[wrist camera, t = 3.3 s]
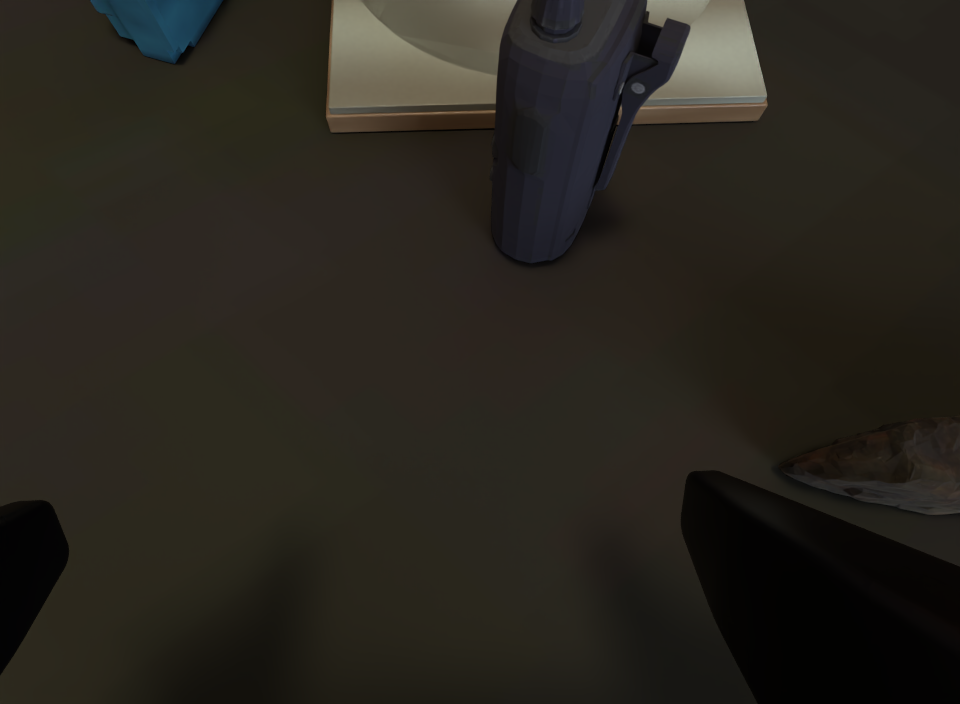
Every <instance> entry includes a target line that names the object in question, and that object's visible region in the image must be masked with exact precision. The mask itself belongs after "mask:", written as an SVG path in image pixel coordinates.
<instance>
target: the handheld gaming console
mask: <svg viewBox="0 0 960 704" xmlns="http://www.w3.org/2000/svg"><path fill="white" fill-rule="evenodd" d="M90 1H91V3H92V4H93V6H94V7H95V9H96V10H97V12H99V13H103V14H106V15H107V17H108V18H109V20H110V21H111V23H112V24H113V26H114V28H115V29H116V31H117V32H118V34H119V35H120V36H121V37H125V38H129V39H132V40H134V41H135V43H136V44H137V46H138V47H139V49H140V51H141V52H142V54H143V55H144V56H147V57H150V58H154V59H158V60H162V61H165V62H169V63H173V64H175V63H176V61H177V60H178V58H179V57H180V55H181V53H183V52H184V50H185V49H186V47H187V45H188V46H192V47H195V45H196V44H197V42H198V40H199V39H200V37H201V36H202V34H203V32H204V31H205V29H206V27H207V26H208V24H209V22H210V21H211V19H212V18H213V16H214V14H215V13H216V11H217V9H218V8H219V6H220V4H221V3H222V1H223V0H90Z"/></svg>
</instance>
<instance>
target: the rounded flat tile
mask: <svg viewBox="0 0 960 704" xmlns="http://www.w3.org/2000/svg"><path fill="white" fill-rule="evenodd" d="M516 2H517V0H332V6H331V25H330V45H329V64H328V83H327V103H326V119H327V122H328V125H329V128H330V131H331V132H332V133H338V132H374V131H410V130H446V129H482V128H495V111H496V86H497V72H498V60H499V47H500V42H501V38H502V35H503V31H504V28H505V25H506V23H507V21H508V18H509V16H510V14H511V11H512V9H513V7H514V5H515V4H516ZM646 11H649V12H650V13H649V20H648V22H649V23H652V24H655V25H658V26H661V27H663V26H664V23H665V21H666V19H667V18H670V19H673V20H676V21H679V22H683V23H686V24H688V25H690V26H691V29H690V33H689V35H688V38H687V40H686V43H685V46H684V48H683V51H682V54H681V57H680V59H679V62H678V64H677V66H676V68H675V70H674V72H673V74H672V76H671V78H670V80H669V81H668V82H667V83H666V84H664V85H663V86H661V87H660V88H658V89H657V90H656V91H655V92H654V93H653V94H652V95H651V96H650V97H649V98H648V99H647V100H646V101H645V103H644V104H643V105H642V106H641V107H640V109H639V110H638V112H637V114H636V116H635V119H634V121H633V123H632V124H662V123H698V122H734V121H757V120H759V118H760V117H761V115H762V113H763V112H764V110H765V109H766V107H767V99H766V97H767V93H766V89H765V85H764V80H763V76H762V72H761V68H760V64H759V60H758V56H757V52H756V48H755V44H754V40H753V36H752V32H751V28H750V23H749V19H748V15H747V11H746V7H745V3H744V0H647V8H646ZM618 115H619V118H618V121H617V124H616V125H619V122H620V119H621V115H622V103H621V106H620V110H619V113H618Z"/></svg>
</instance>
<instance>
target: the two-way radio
mask: <svg viewBox="0 0 960 704" xmlns="http://www.w3.org/2000/svg"><path fill="white" fill-rule="evenodd" d="M646 8H647V0H517V2H516V4H515V5H514V7H513V9H512V11H511V14H510V16H509V18H508V21H507V23H506V25H505V28H504V31H503V35H502V38H501V42H500V47H499V60H498V72H497V86H496V111H495V133H494V135H493V140H492V143H491V145H492V155H493V157H494V161H493V165H492V167H491V171H490V180H491V181H492V184H493V185H492V207H491V230H492V234H493V237H494V240H495V243H496V245H497V246H498V247H499V248H500V250H501V251H502V252H504V253H506V254H507V255H509V256H511V257H512V258H514V259H515V260H519V261H523V262H527V263H536V262H541V261H546V260H550V261H551V260H553V259H556V258H557V257H559V256H561V255H562V254H564V252H565V251H566V250H567V249H568V248H569V247H570V246H571V244H572V242H573V240H574V238H575V237H576V235H577V233H578V231H579V229H580V227H581V225H582V223H583V220H584V218H585V216H586V213H587V211H588V208H589V206H590V205H591V203H592V200H593V197H594V194H595V191H596V190H604V189H605V188H606V187H607V185H608V183H609V181H610V179H611V177H612V175H613V173H614V170H615V167H616V165H617V162H618V159H619V156H620V154H621V151H622V148H623V146H624V143H625V141H626V138H627V136H628V133H629V131H630V128H631V126H632V123H633V121H634V119H635V116H636V114H637V112H638V110H639V109H640V107H641V106H642V105H643V104H644V103H645V101H646V100H647V99H648V98H649V97H650V96H651V95H652V94H653V93H654V92H655V91H656V90H657V89H658V88H660V87H661V86H663V85H664V84H666V83H667V82H668V81H669V80H670V78H671V76H672V74H673V72H674V70H675V68H676V66H677V64H678V62H679V59H680V57H681V54H682V51H683V48H684V46H685V43H686V40H687V38H688V35H689V33H690V29H691V26H690V25H688V24H686V23H683V22H679V21H676V20H673V19H670V18H667V19H666V21H665V23H664V26H663V27H661V26H658V25H655V24H652V23H649V22H648V20H649V13H650V12H649V11H646ZM621 103H622V115H621V119H620V122H619V125H618V128H617V131H616V134H615V137H614V140H613V143H612V146H611V149H610V151H609V154H608V157H607V160H606V163H605V165H604V162H605V159H606V156H607V153H608V150H609V146H610V143H611V140H612V137H613V134H614V131H615V128H616V124H617V121H618V118H619V115H618V113H619V110H620V106H621ZM603 165H604V168H603ZM602 168H603V171H602ZM601 172H602V174H601ZM600 175H601V176H600ZM599 178H600V179H599ZM598 181H599V182H598Z"/></svg>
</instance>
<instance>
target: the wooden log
mask: <svg viewBox="0 0 960 704" xmlns="http://www.w3.org/2000/svg"><path fill="white" fill-rule="evenodd" d="M778 468H779V469H780V470H781V471H782V472H783V473H785V474H786V476H790V477H792V478H794V479H796V480H798V481H801V482H804V483H806V484H808V485H810V486H813V487H816V488H820V489H824V490H828V491H830V492H832V493H836V494H841V495H846V496H850V497H852V498H854V499H856V500H859V501H864V502H870V503H877V504H884V505H890V506H895V507H897V508H900V509H905V510H910V511H915V512H920V513H923V514H927V515H943V514H954V513H960V415H958V416H950V417H934V418H923V419H913V420H910V421H905V422H898V423H892V424H886V425H883V426H881V427H880V428H878V429H875V430H872V431H868V432H865V433H859V434H857V435H852V436H849V437H844V438H840V439H837V440H836V441H835V442H834V443H833V444H832V445H831V446H828V447H824V448H820V449H817V450H815V451H812V452H809V453H806V454H803V455H800V456H798V457H795V458H793V459H790V460H788V461H786V462H783V463H781V464H780V465H779V466H778Z"/></svg>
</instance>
